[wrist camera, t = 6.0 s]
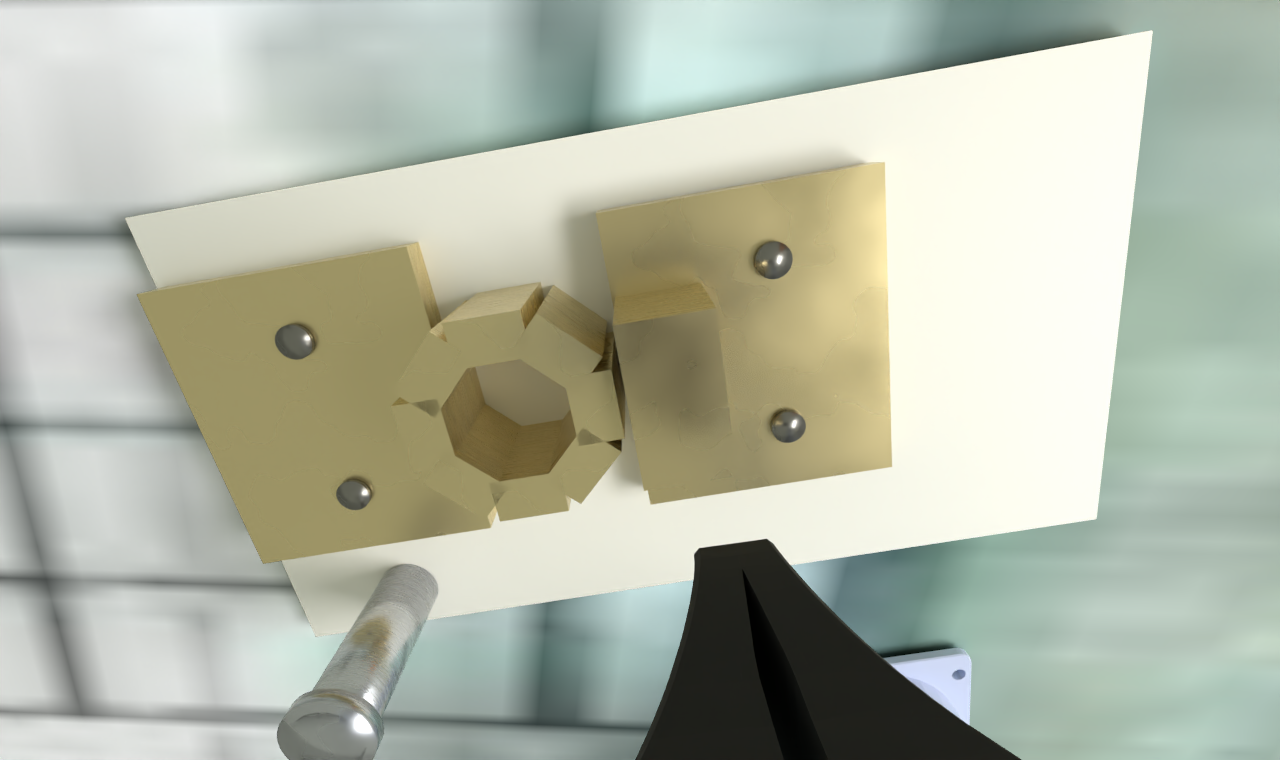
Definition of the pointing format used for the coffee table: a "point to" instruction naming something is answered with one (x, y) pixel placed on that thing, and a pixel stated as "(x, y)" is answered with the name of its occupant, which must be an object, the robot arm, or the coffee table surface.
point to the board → (917, 307)
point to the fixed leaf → (384, 400)
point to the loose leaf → (754, 331)
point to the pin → (361, 673)
